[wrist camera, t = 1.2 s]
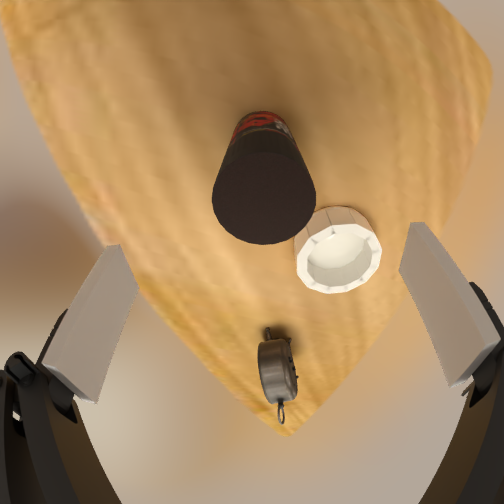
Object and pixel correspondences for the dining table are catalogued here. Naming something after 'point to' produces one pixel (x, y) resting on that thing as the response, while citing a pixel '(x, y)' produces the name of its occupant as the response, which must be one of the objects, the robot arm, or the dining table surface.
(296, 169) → the deodorant
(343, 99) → the dining table surface
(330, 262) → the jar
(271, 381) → the alarm clock
